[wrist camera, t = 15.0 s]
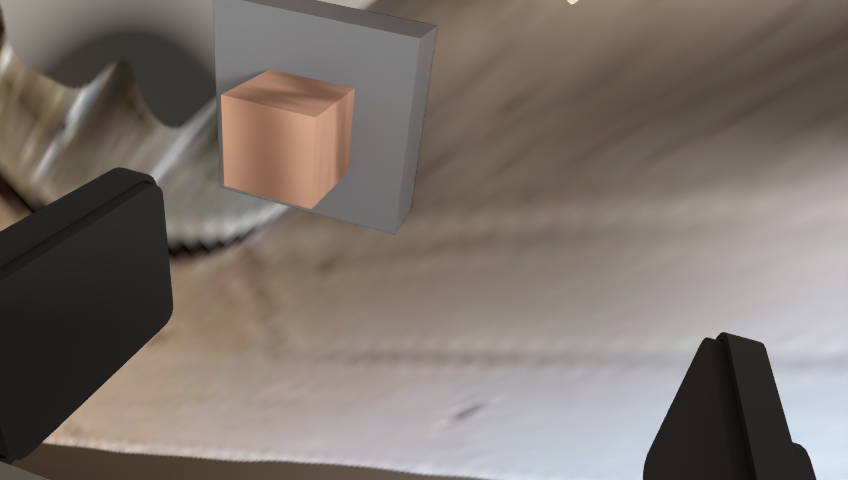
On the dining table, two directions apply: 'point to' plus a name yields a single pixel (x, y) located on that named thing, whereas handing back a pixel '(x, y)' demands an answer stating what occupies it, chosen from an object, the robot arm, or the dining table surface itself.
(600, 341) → the dining table surface
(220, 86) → the gray block
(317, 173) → the terracotta cube
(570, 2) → the stack of blocks
